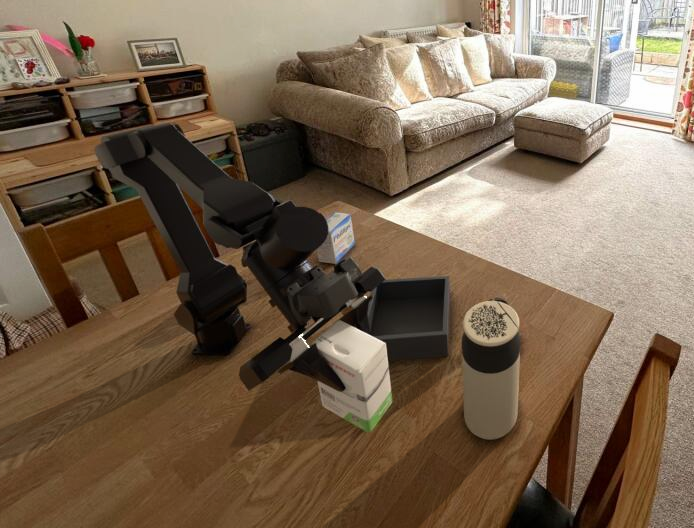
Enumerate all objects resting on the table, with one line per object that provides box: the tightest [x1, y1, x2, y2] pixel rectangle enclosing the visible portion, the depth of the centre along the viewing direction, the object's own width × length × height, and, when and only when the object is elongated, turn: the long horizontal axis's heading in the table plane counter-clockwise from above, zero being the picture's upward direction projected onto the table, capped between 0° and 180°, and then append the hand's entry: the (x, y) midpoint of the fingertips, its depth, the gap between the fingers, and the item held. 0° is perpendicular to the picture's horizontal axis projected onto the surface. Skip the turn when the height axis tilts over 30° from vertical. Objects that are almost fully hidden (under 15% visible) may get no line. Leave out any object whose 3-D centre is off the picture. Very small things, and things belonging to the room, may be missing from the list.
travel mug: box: [461, 300, 521, 440], centre depth 57 cm, size 8×8×18 cm
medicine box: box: [316, 212, 356, 265], centre depth 93 cm, size 8×4×9 cm, turn 168°
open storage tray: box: [367, 275, 451, 362], centre depth 74 cm, size 15×15×5 cm
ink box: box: [309, 319, 393, 434], centre depth 53 cm, size 9×5×12 cm, turn 66°
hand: (359, 373), depth 52 cm, fingers closed on ink box, 5 cm apart
